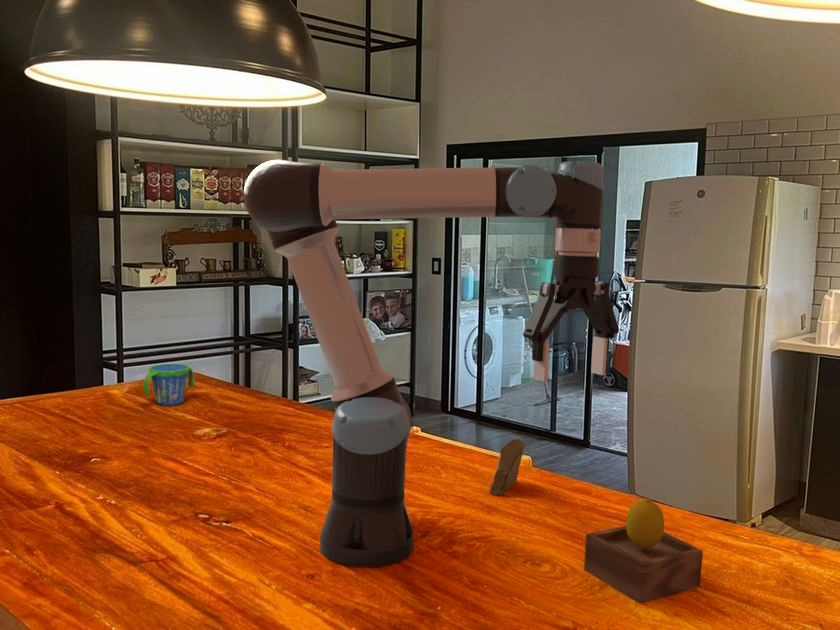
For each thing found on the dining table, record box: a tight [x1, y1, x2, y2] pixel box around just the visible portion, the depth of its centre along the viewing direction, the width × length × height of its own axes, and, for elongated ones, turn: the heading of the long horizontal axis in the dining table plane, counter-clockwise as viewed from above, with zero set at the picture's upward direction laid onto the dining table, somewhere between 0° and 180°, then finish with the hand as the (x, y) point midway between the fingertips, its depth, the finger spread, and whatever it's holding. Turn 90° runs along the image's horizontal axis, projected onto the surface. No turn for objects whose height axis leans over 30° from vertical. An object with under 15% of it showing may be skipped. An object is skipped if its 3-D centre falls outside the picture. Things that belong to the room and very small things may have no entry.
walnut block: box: [583, 525, 704, 605], centre depth 119 cm, size 12×12×6 cm
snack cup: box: [142, 363, 196, 406], centre depth 219 cm, size 16×10×10 cm
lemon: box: [625, 498, 665, 550], centre depth 119 cm, size 6×6×8 cm
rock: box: [488, 438, 526, 496], centre depth 159 cm, size 11×9×10 cm
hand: (570, 377), depth 137 cm, fingers open, 13 cm apart
